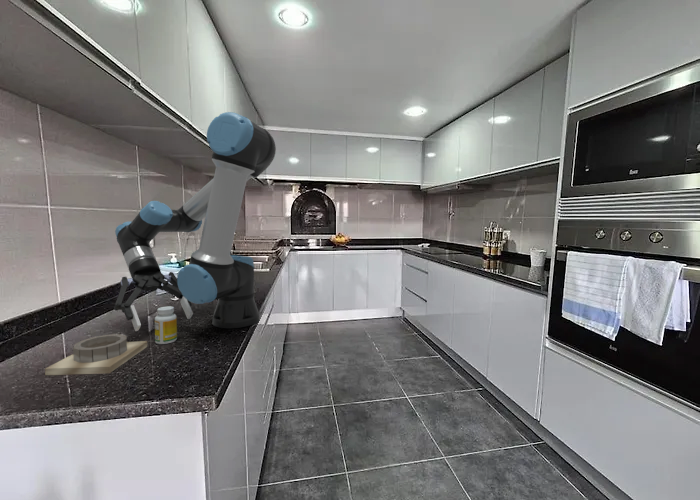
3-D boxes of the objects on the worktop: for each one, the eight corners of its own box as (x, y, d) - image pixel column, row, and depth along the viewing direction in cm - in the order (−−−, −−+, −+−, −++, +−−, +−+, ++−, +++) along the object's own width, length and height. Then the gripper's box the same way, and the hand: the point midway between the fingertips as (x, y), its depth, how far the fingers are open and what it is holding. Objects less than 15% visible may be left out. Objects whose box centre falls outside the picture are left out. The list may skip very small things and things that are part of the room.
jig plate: (147, 346, 82) (146, 330, 82) (109, 373, 67) (108, 353, 67) (95, 347, 81) (94, 331, 80) (45, 375, 66) (44, 355, 66)
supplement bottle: (151, 344, 83) (150, 310, 83) (161, 337, 89) (160, 305, 88) (171, 344, 84) (170, 310, 83) (180, 337, 89) (179, 305, 89)
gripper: (180, 268, 105) (204, 318, 97) (88, 277, 85) (108, 341, 77) (188, 254, 101) (213, 305, 94) (93, 259, 81) (115, 325, 74)
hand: (166, 322), depth 85 cm, fingers open, 13 cm apart
